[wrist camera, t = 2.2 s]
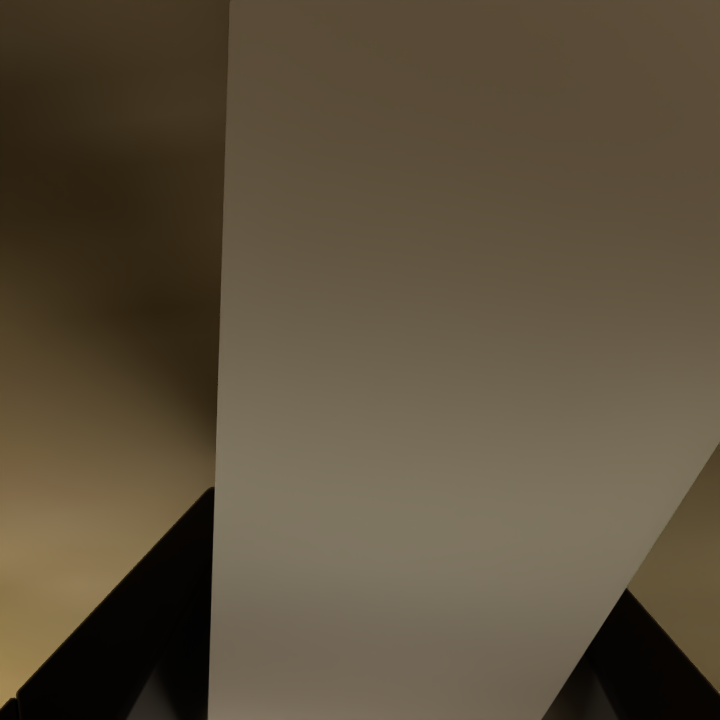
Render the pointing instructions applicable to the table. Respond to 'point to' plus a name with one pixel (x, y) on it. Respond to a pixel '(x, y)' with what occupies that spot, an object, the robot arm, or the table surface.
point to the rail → (455, 343)
